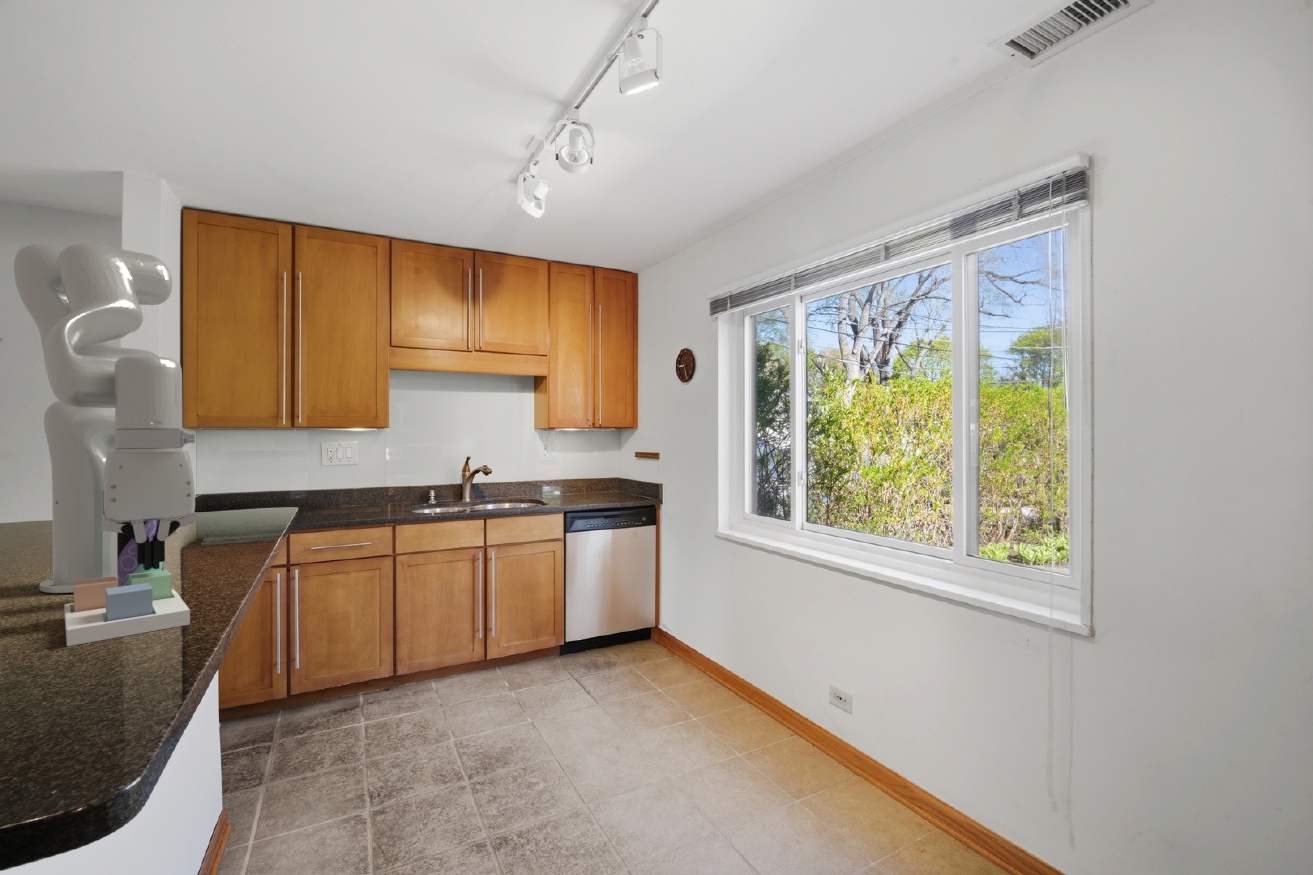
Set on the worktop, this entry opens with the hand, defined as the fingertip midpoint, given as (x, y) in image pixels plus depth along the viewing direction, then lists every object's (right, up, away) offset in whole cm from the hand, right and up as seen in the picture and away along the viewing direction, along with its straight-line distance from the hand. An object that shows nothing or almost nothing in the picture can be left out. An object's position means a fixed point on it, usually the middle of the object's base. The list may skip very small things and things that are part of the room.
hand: (151, 567), depth 88 cm
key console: (0, -6, -5) cm, 8 cm away
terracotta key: (-5, -4, -4) cm, 7 cm away
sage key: (0, -4, 0) cm, 5 cm away
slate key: (+3, -5, -7) cm, 9 cm away
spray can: (-8, -6, +8) cm, 13 cm away
